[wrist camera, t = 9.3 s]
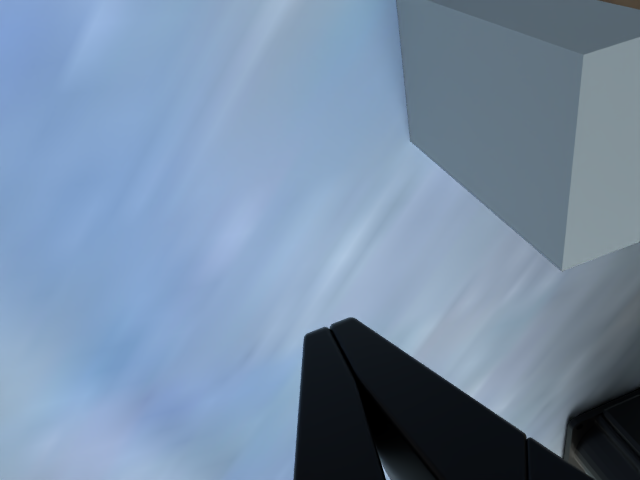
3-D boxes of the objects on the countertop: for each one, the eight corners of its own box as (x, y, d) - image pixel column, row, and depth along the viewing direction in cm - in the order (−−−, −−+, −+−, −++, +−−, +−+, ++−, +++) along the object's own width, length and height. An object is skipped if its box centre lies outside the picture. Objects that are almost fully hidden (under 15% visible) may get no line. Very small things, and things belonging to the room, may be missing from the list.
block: (466, 123, 19) (643, 240, 13) (410, 141, 19) (562, 271, 12) (462, -30, 16) (690, 20, 10) (395, -11, 16) (583, 55, 9)
